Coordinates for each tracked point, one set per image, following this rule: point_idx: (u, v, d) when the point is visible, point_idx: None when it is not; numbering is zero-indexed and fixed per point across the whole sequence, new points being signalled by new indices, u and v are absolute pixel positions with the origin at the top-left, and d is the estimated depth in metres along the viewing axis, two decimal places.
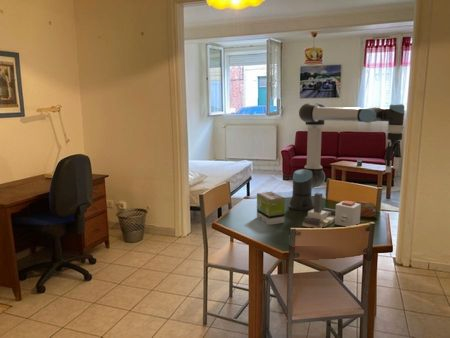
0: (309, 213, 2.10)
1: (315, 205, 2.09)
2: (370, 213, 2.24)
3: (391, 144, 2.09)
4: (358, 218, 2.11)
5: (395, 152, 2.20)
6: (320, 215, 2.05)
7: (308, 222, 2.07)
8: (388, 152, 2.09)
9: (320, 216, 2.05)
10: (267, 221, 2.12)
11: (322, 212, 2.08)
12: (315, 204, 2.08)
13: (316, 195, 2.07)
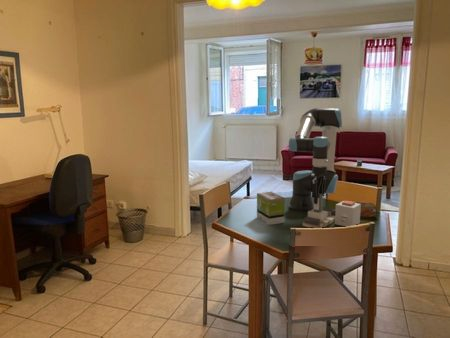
0: (309, 213, 2.10)
1: None
2: (370, 213, 2.24)
3: (314, 182, 2.02)
4: (358, 218, 2.11)
5: (319, 188, 2.09)
6: (320, 215, 2.05)
7: (308, 222, 2.07)
8: (313, 190, 2.04)
9: (320, 216, 2.05)
10: (267, 221, 2.12)
11: (322, 212, 2.08)
12: None
13: None
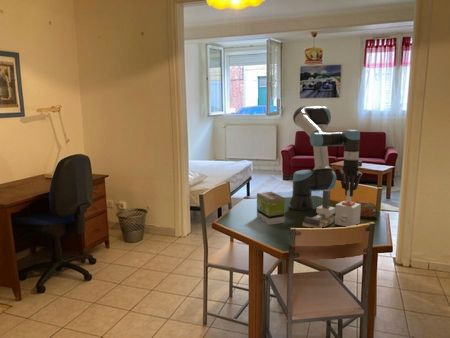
0: (318, 209, 2.17)
1: (323, 201, 2.16)
2: (370, 213, 2.24)
3: None
4: (358, 218, 2.11)
5: None
6: (328, 211, 2.13)
7: (308, 222, 2.07)
8: None
9: (328, 212, 2.13)
10: (267, 221, 2.12)
11: (330, 208, 2.16)
12: (324, 200, 2.16)
13: (324, 192, 2.15)
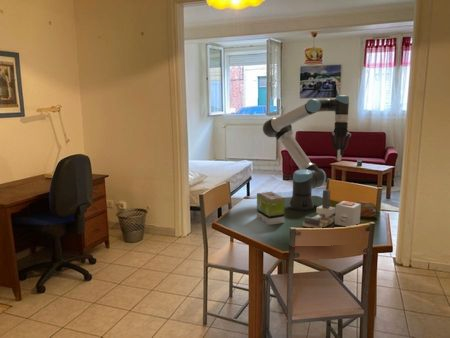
0: (318, 209, 2.17)
1: (323, 201, 2.16)
2: (370, 213, 2.24)
3: None
4: (358, 218, 2.11)
5: None
6: (328, 211, 2.13)
7: (308, 222, 2.07)
8: None
9: (328, 212, 2.13)
10: (267, 221, 2.12)
11: (330, 208, 2.16)
12: (324, 200, 2.16)
13: (324, 192, 2.15)
